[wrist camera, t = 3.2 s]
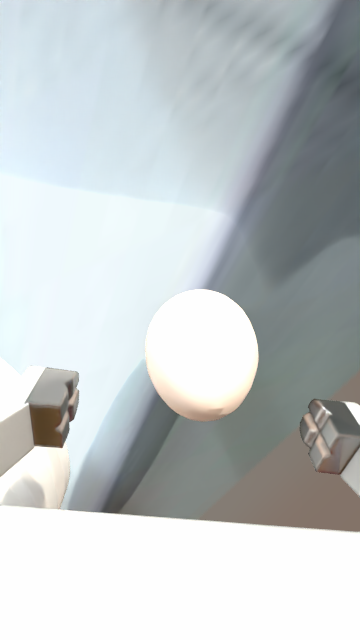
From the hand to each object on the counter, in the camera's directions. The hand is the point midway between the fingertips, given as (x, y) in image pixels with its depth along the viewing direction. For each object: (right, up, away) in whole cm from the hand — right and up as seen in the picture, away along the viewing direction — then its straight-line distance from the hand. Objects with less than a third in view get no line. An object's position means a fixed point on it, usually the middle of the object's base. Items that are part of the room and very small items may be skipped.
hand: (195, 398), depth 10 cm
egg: (0, +3, +6) cm, 7 cm away
